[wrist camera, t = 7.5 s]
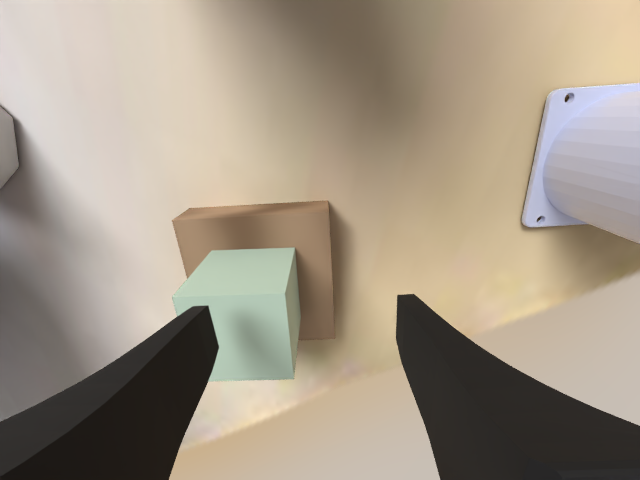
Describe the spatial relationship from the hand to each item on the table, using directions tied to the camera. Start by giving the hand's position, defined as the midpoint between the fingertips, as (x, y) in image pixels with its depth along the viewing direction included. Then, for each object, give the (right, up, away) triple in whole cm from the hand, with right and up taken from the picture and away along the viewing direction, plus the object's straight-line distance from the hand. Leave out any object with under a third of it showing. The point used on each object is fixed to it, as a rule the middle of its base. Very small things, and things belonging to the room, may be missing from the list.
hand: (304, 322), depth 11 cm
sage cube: (-3, 0, +7) cm, 8 cm away
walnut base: (-3, +1, +10) cm, 11 cm away
